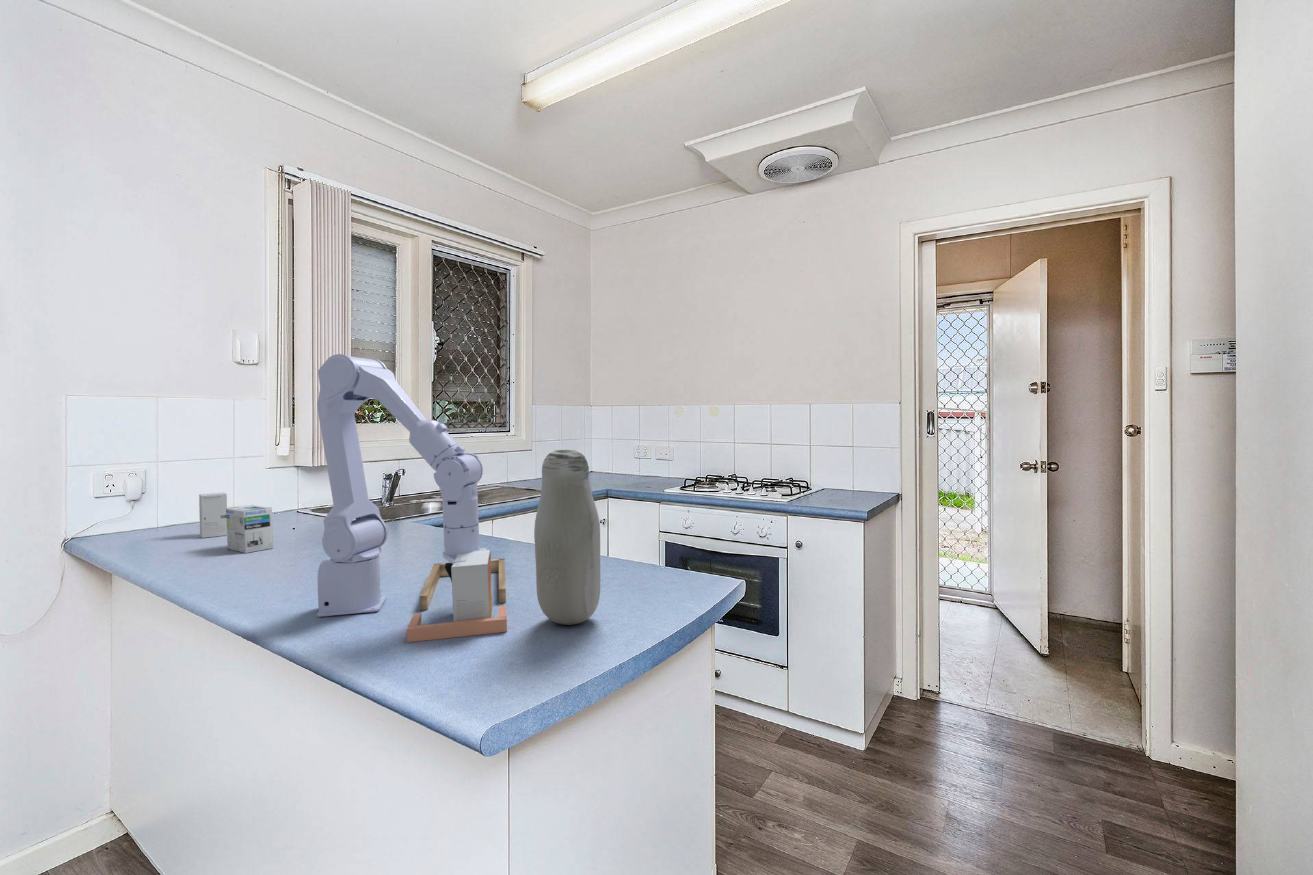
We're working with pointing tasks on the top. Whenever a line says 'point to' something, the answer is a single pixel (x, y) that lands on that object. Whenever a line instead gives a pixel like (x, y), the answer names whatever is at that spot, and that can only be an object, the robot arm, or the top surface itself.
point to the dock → (455, 627)
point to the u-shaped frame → (440, 570)
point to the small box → (472, 586)
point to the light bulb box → (249, 528)
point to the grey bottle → (567, 540)
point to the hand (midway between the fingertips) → (464, 603)
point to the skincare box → (213, 514)
